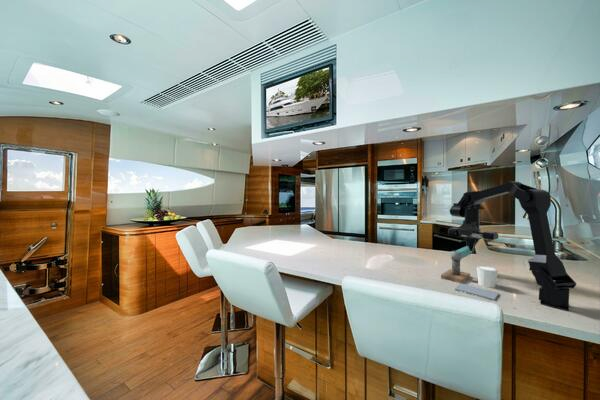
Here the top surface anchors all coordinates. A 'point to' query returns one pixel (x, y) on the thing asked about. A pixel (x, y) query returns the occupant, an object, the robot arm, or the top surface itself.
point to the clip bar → (460, 253)
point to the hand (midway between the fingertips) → (471, 251)
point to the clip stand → (455, 273)
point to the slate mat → (477, 291)
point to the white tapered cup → (487, 276)
